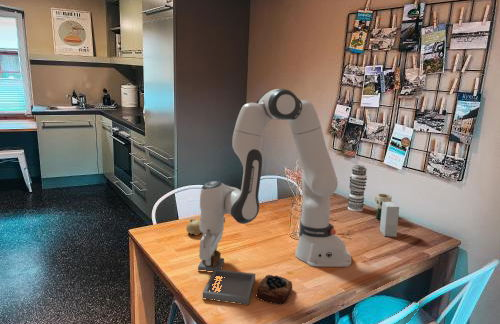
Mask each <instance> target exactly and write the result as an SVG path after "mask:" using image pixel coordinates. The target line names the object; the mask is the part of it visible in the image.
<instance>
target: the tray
mask: <svg viewBox="0 0 500 324" xmlns="http://www.w3.org/2000/svg"><path fill="white" fill-rule="evenodd" d="M216 276H220V277H221V276H222V277H223V278H222V279H221V280H222V281H220V284H219V288H220V286H221V285H222V287H221V289H220V290H221V291H220V292H218V291H216V292H214V291H215V289H216V288H214V290H212V288H213V286H214V285H213V286H212V284H214V283H215V281H216V280H214V279H216V278H215V277H216ZM224 277H225V278H224ZM218 280H219V279H218ZM218 282H219V281H217V282H216V283H218ZM254 282H256V273H254V272H253V273H252V272H244V271H243V272H242V271H234V270H225V269H221V270H217V269H214V271H213V273H211V275H210V276H209V279H208V281H207V283H206V285H205V287H204V288H203V291H202V299H203V298H206V299H213V300H214V299H215V300H220V301H228V302H235V303H241V304H240V305H242V304H249V305H250V302H251V298H250V297H252V294H253V289H254V287H253V286H255V283H254ZM215 286H216V287H217V284H216V285H215ZM209 290H210V292H209ZM217 292H218V293H217ZM249 301H250V302H249Z"/></svg>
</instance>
